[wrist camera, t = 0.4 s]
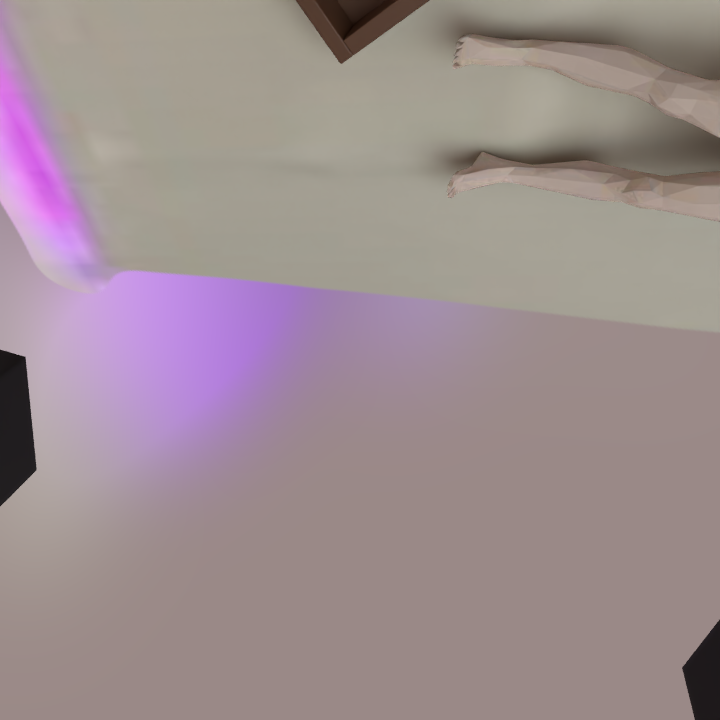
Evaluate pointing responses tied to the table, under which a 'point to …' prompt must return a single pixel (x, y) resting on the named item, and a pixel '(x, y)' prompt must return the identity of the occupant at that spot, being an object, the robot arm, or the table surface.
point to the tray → (355, 21)
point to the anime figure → (615, 73)
